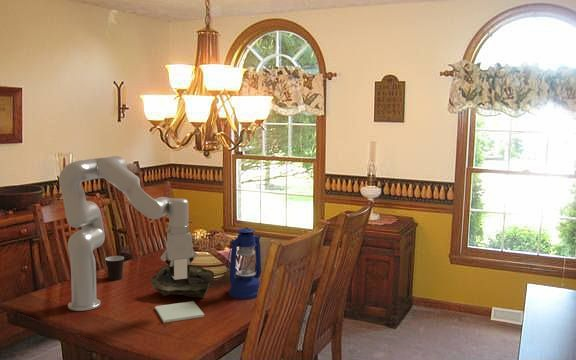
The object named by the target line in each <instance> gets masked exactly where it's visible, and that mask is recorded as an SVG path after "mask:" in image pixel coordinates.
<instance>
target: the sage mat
mask: <svg viewBox="0 0 576 360" xmlns="http://www.w3.org/2000/svg"><path fill="white" fill-rule="evenodd" d="M154 309H155V311H156V313H157V314H158V316H159V318H160V320H161V321H162V322H163V323H164V324H165V323H171V322H177V321H184V320H185V321H186V320H191V319H199V318H205V313H204V312H203V311H202V310H201V309H200V307H199V306H198V305H197V304H196V302H195V301H193V300H192V301H185V302H178V303H171V304H169V303H168V304H163V305H156V306H155V307H154Z"/></svg>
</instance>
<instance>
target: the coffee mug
mask: <svg viewBox="0 0 576 360" xmlns="http://www.w3.org/2000/svg"><path fill="white" fill-rule="evenodd" d="M124 263H125V257H124V256H121V255H114V256H113V255H112V256H107V257H106V258H105V266H106V267H105V268H106V274H107V280H108V281H113V282H116V281H121V280H122V279H123V275H124V274H123V271H124Z"/></svg>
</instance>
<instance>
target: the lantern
mask: <svg viewBox="0 0 576 360" xmlns="http://www.w3.org/2000/svg"><path fill="white" fill-rule="evenodd" d="M236 231H237V232H238V235H237V238H235V239H234V240H233V239H232V240H231V241H230V249H229V252H228V257H227V263H226V266H228V265H229V260H230V265H229V267H230V268H229V267H226V269H227V270H226V271H227V272H228V273H229V282H230V288H229V289H228V295H229V297H231V298H234V299H238V300H239V299H240V300H251V299H256V297H257V293H258V288H259V284H260V285H261V281H260V279H259V278H260V277H261V275H262V262H261V261H262V260H261V257H262V256H261V243H260V239H261V235H255V234H254V233H255V232H256V230H255V229H253V228H250V227H244V228H239V229H237V230H236ZM237 249H238V250H237ZM250 256H251V258H250ZM254 256H255V263H254V266H253V267H252V268H251V269H248V267H249V265H250V264H251V262H252V261H253V257H254ZM239 257H246V258H247V257H248V259H249V260H250V261H247V262H245V264H247V263H248V264H247V266H246V267H244V268H241V269H239V270H237V268H238V266H237V267H236V261H237V258H239ZM228 268H229V269H228ZM253 269H254V270H253ZM257 298H258V297H257Z"/></svg>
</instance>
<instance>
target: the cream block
mask: <svg viewBox="0 0 576 360" xmlns="http://www.w3.org/2000/svg"><path fill="white" fill-rule="evenodd" d="M173 266H174V276H172V277H173V278H174V280H177V279H186V278H187V259H177V260H174V263H173Z"/></svg>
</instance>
